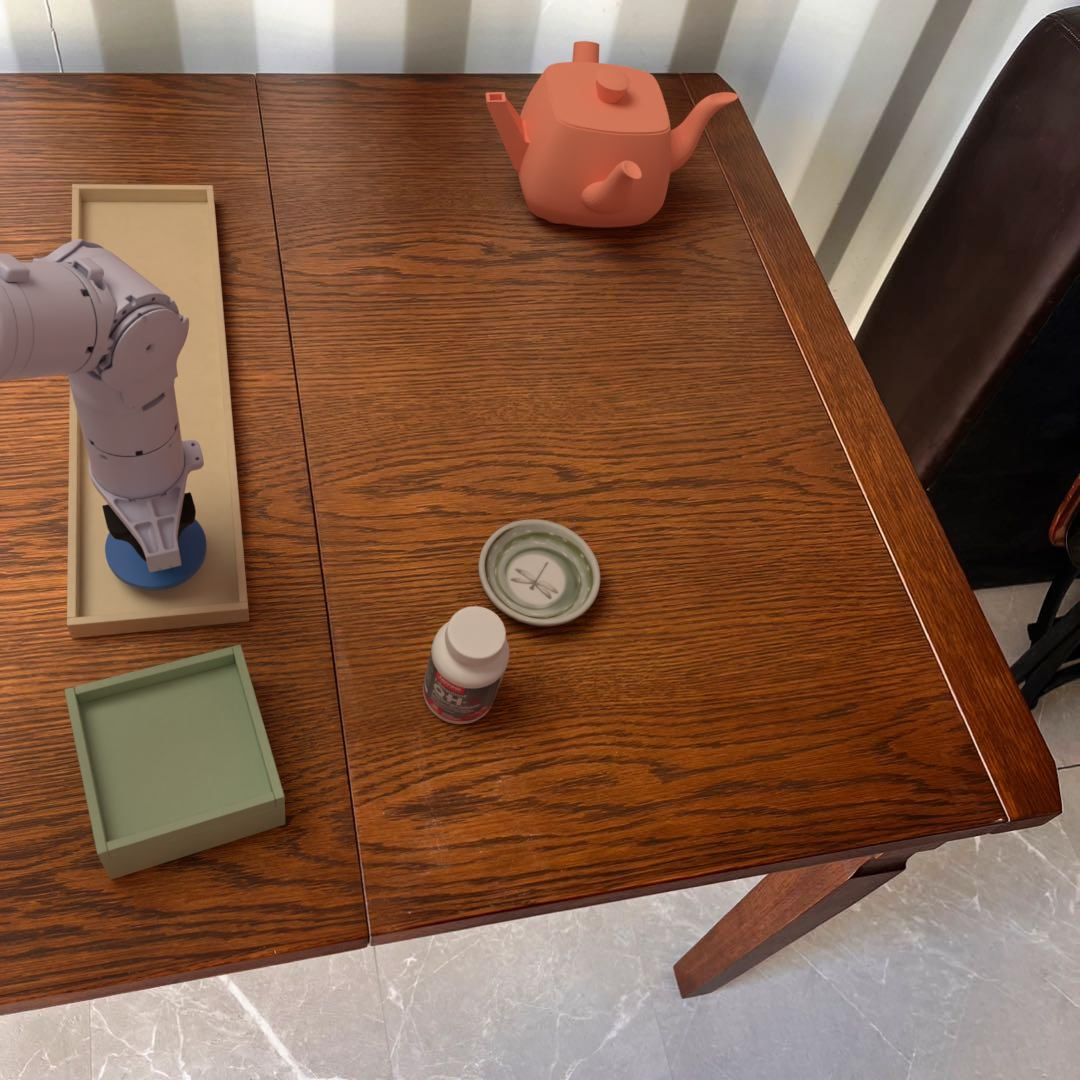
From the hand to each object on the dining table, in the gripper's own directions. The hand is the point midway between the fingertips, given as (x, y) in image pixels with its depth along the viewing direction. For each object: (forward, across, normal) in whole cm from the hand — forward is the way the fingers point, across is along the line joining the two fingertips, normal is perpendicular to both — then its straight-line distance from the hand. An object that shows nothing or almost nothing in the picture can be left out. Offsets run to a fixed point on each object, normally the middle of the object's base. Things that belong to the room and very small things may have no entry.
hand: (154, 538), depth 78 cm
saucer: (+4, -10, -27) cm, 29 cm away
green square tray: (+4, -16, +2) cm, 17 cm away
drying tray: (+4, +17, -3) cm, 17 cm away
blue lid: (+2, 0, 0) cm, 2 cm away
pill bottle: (+4, -16, -18) cm, 25 cm away
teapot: (+4, +32, -50) cm, 60 cm away
